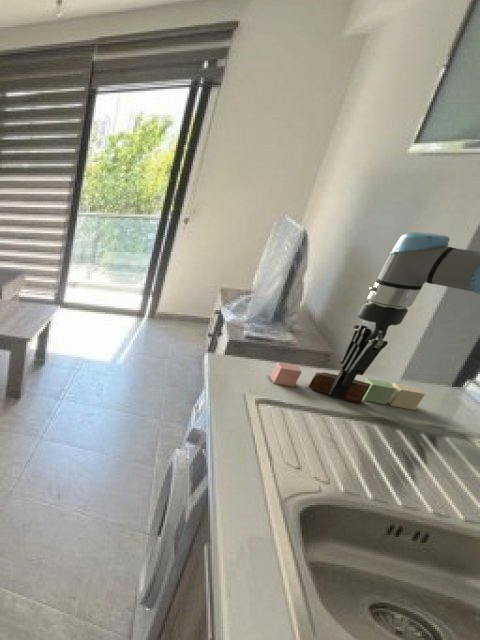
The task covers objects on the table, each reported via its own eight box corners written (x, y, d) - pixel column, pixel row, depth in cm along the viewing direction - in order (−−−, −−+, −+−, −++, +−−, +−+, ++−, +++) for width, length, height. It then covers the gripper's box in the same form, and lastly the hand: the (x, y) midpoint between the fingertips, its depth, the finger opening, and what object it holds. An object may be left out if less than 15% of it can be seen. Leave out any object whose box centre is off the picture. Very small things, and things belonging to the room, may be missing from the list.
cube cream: (414, 410, 118) (425, 394, 116) (391, 405, 120) (401, 389, 117) (406, 402, 122) (416, 386, 119) (383, 398, 123) (393, 382, 121)
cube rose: (294, 387, 127) (301, 371, 125) (273, 383, 129) (281, 368, 126) (289, 380, 131) (297, 365, 128) (270, 377, 132) (277, 362, 130)
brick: (362, 400, 122) (371, 383, 120) (359, 404, 119) (369, 387, 117) (310, 384, 129) (318, 369, 127) (306, 388, 126) (315, 372, 124)
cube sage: (385, 404, 120) (395, 388, 118) (363, 400, 122) (372, 384, 120) (378, 397, 124) (388, 381, 121) (356, 393, 125) (366, 377, 123)
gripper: (356, 294, 116) (310, 382, 127) (376, 308, 105) (324, 402, 117) (396, 300, 113) (345, 388, 124) (421, 314, 103) (364, 410, 114)
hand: (335, 395), depth 120 cm, fingers closed
